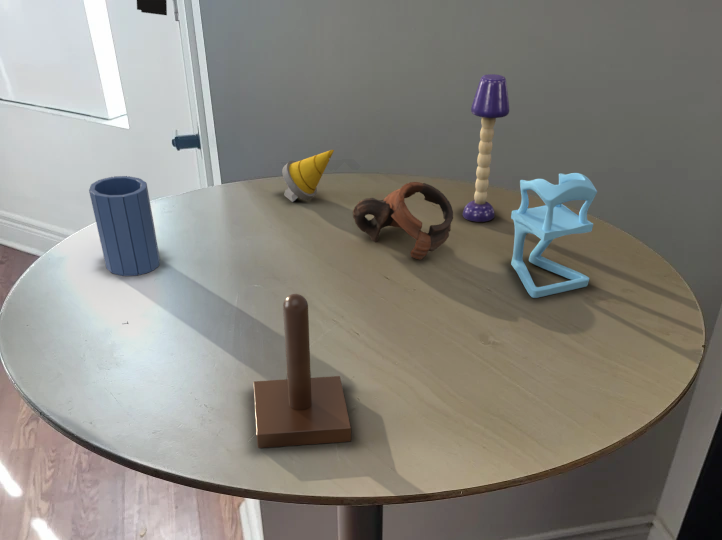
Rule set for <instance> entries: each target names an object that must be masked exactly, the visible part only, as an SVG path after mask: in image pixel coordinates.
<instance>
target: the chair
mask: <svg viewBox="0 0 722 540" xmlns="http://www.w3.org/2000/svg"><path fill="white" fill-rule="evenodd" d="M519 186H520V194H521V195H520V196H521V201H520V205H519V208H518V209H513V210H512V211H511V215H510V219H511V220H513V224H514V226H513V227H514V238H513V239H514V240H513V242H514V243H513V250H512V251H513V252H512V258H511V262H510V265H511V266H512V268H513V269H514V270H515V272H516V273H517V275H518V277H519V279H520V281H521V283H522V284H523V287H524V289H525V291H526V292H527V293H528V295H529V296H530V297H531V298H533V299H538V298H542V297H547V296H551V295H555V294H560V293H565V292H569V291H572V290H578V289H581V288H586V287H588V286H589V282H590V277H589V276H587V275H585V274H583V273H582V272H580V271H577V270H576V269H575V270H574V269H573V268H570V267H568V266H565V265H563V264H561V263H558V262H556V261H553V260H551V259H548V258H547V257H544V256H543V255H542V254H543V253H544V252H545V250H546V249H547V248H548V247H549V246H550V244H551V243H552V242H553V241H554V240H555V239H558V238H561V237H563V236H564V237H565V236H570V235H578V234H586V233H591V232H592V231H593V228H594V223H593V222H591V221H590V220H588V211H589V209H590V206H591V205H592V203H593V201H594V199H595V198H596V195H597V194H598V189H596V187H595V185H594V184H593V182H592V180H591V179H590V178H589V177H588V176H586V175H585V174H584V173H583V174H582V173H580V172H572V173H567V174H565V173H562V172H561V173H558V184H553V183H551V182H549V181H548V180H546V179H544V178H535V179H531V180H525V179H520V180H519ZM528 191H533V192H534V193H535V194H537V195H538V196H539V198H540V199H541V201H543V203H544V204H543V205H540V206H536V207H529V206H530V205H529V204H530V200H529V195H528V194H529V193H528ZM571 201H572V202H573V201H584V203H583V204H582V205H581V208H580V210H579V213H578V214H577V213H576V212H574V211H573V210H571V209H570V208H568V206H566V205H564V204H563V203H567V202H571ZM528 234H530V235H533V236H534V235H535V236H536V237H537V238H538V239H540V240H539V241H538V243H537V244H536V246H535V247H533V249H532V251H531V252H530V254H529V257H528V262H529V263H531V264H533V265H534V266H537V267H539V268H541V269H543V270H545V271H548V272H551V273H553V274H556V275H558V276H560V277H563V278H566V279H568V280H566V281H561V282H556V283H551V284H547V285H542V286H537V285H536V284H535V283H534V281H533V278H532V276H531V274H530V271H529V270H528V267H527V266H526V263H525V262H524V260H523V258H524V257H523V256H524V248H525V247H524V246H525V241H526V237H527V235H528Z"/></svg>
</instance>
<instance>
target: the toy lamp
mask: <svg viewBox="0 0 722 540" xmlns="http://www.w3.org/2000/svg"><path fill="white" fill-rule="evenodd" d="M507 84H508V83H507V79H506V77H505V76H504V75H502V74H495V73H494V74H493V73H490V74H489V73H488V74H483V75H482V76H481V77H480V79H479V82H478V86H477V88H476V91H475V95H474V98H473V100H472V104H471V107H470V112H471V114H472V115H474V116H476V117H478V118H479V117H480V118H481V121H480V123H481V128H480V132H479V138H480V141H479V143H478V152H479V153H478V155H477V158H476V159H477V160H476V162H477V165H478V166H477V167H476V170H475V171H476V172H475V174H476V179H475V185H474V187H475V192H474V196H473V198H474V200H470V201H469V202H468V203H467V204H466V205H465V206H464V208H463V211H462V217H463V218H464V219H466V220H467V221H471V222H476V223H484V222H489V221H492V220H493V219H494V218H495V215H496V213H495V209H494V207H493V205H492V204H491V203H490V202H488V196H489V195H488V189H489V187H490V186H489V185H490V180H489V177H490V175H491V167H490V165H491V163H492V162H491V161H492V154H491V153H492V152H493V151H492V150H493V144H494V143H493V139H494V136H495V129H494V127H495V124H496V120H497V119H498V118H499V119H500V118H501V119H502V118H505V117H507V116H508V115H509V114H510V101H509V100H510V99H509V93H508V92H509V91H508V85H507Z"/></svg>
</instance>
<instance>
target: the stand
mask: <svg viewBox="0 0 722 540" xmlns="http://www.w3.org/2000/svg"><path fill="white" fill-rule="evenodd" d="M282 311H283V326H284V329H283V330H284V343H285V344H284V345H285V359H286V376H287V377H286V379H271V380H256V381H253V383H252V384H253V400H254V414H255V416H254V417H255V429H256V431H255V432H256V443H257V448H258V449H264V448H265V449H267V448H279V447H293V446H305V445H306V446H307V445H318V444H319V445H321V444H331V443H346V442H347V443H348V442H351V441H352V426H351V422H350V416H349V413H348V407H347V402H346V398H345V394H344V389H343V383H342V379H341V376H340V375H331V376H317V377H312V373H311V347H310V346H311V345H310V320H309V318H310V317H309V303H308V300H307V299H306V298H305V296H303V295H302V294H300V293H291V294H289V295H287V296H286V298H285V299H284V300H283V304H282Z"/></svg>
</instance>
